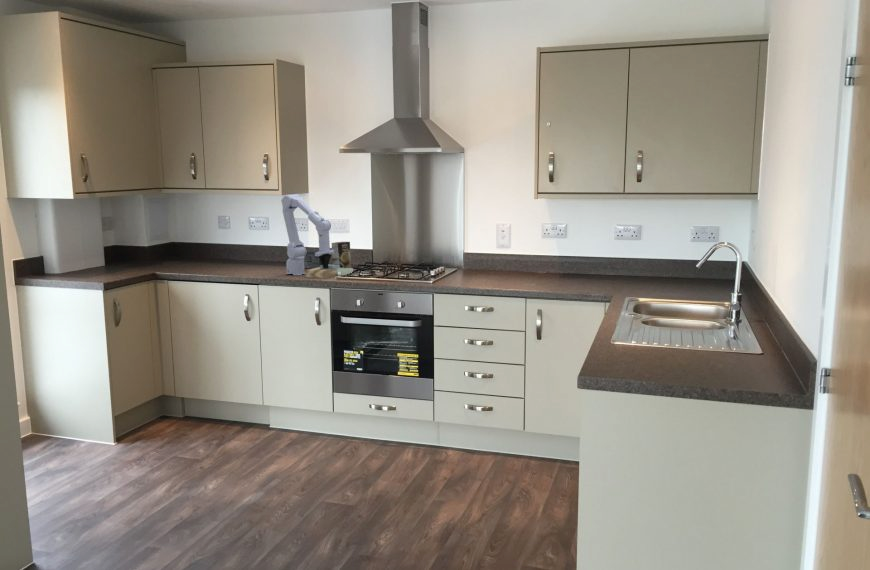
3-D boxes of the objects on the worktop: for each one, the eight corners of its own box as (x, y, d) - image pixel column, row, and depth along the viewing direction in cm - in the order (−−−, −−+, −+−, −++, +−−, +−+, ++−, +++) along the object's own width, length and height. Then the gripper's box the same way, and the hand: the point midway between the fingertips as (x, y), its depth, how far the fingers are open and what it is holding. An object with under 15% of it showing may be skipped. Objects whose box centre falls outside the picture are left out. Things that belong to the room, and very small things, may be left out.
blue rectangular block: (319, 268, 395) (319, 265, 395) (326, 267, 400) (326, 264, 400) (333, 269, 391) (333, 266, 391) (339, 267, 396) (339, 264, 396)
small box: (324, 267, 429) (323, 250, 427) (320, 269, 422) (319, 251, 421) (307, 267, 431) (306, 250, 429) (303, 269, 424) (302, 251, 423)
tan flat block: (306, 277, 391) (305, 270, 391) (318, 274, 401) (318, 267, 400) (325, 278, 385) (325, 271, 384) (337, 275, 395) (337, 268, 394)
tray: (321, 274, 400) (321, 270, 399) (333, 271, 409) (333, 267, 409) (342, 275, 393) (342, 271, 393) (353, 273, 403) (353, 268, 402)
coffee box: (340, 271, 410) (339, 243, 407) (332, 270, 414) (330, 242, 411) (351, 269, 417) (350, 241, 415) (343, 268, 421) (342, 241, 419)
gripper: (321, 244, 382) (323, 270, 384) (338, 241, 394) (339, 266, 396) (311, 244, 385) (312, 269, 387) (327, 241, 398) (329, 266, 400)
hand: (325, 268), depth 392 cm, fingers closed
